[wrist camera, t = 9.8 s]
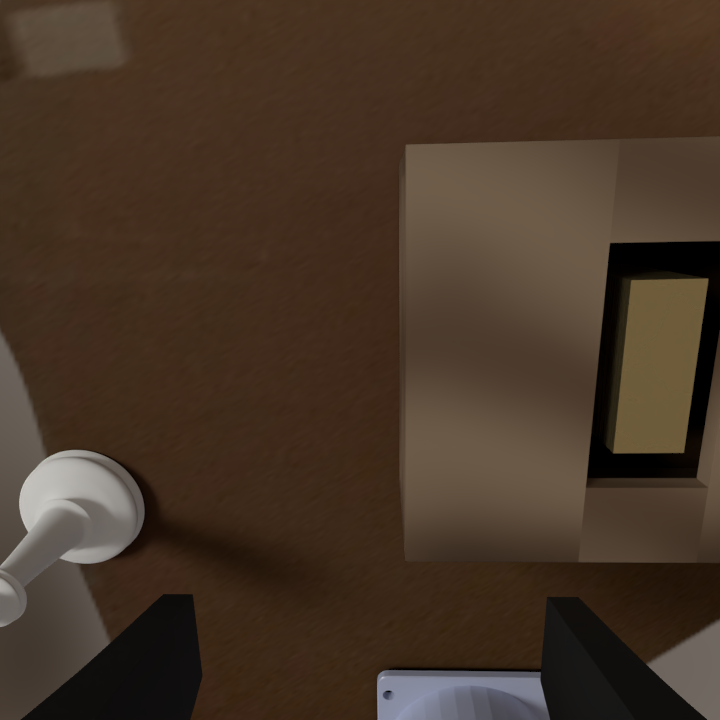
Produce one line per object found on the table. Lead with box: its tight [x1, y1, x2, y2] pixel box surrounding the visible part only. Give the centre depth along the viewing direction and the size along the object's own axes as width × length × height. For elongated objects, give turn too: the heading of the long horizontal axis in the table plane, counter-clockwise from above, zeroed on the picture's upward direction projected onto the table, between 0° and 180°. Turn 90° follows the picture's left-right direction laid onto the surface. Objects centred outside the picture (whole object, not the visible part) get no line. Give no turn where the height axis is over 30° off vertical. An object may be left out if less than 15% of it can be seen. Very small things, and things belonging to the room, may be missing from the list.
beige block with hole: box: [399, 137, 720, 563], centre depth 17 cm, size 12×14×5 cm
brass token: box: [591, 263, 708, 453], centre depth 17 cm, size 5×2×5 cm, turn 2°
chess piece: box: [0, 450, 145, 627], centre depth 17 cm, size 5×5×10 cm
